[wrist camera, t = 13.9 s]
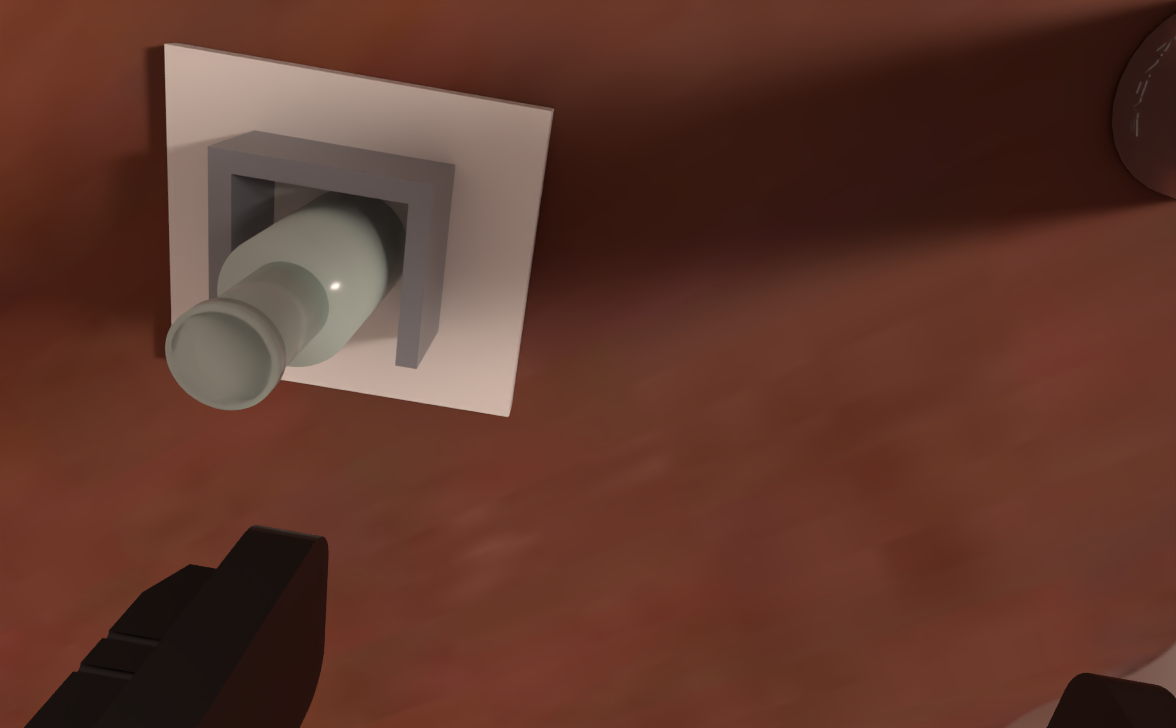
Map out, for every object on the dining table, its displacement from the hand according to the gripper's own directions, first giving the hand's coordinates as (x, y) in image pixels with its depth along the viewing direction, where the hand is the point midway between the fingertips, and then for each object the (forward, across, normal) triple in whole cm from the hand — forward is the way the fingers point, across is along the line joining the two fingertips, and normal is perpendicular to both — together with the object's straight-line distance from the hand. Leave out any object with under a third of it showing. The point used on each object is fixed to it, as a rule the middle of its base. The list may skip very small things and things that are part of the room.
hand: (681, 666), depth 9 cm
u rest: (+35, +14, +7) cm, 38 cm away
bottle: (+34, +14, +7) cm, 37 cm away
